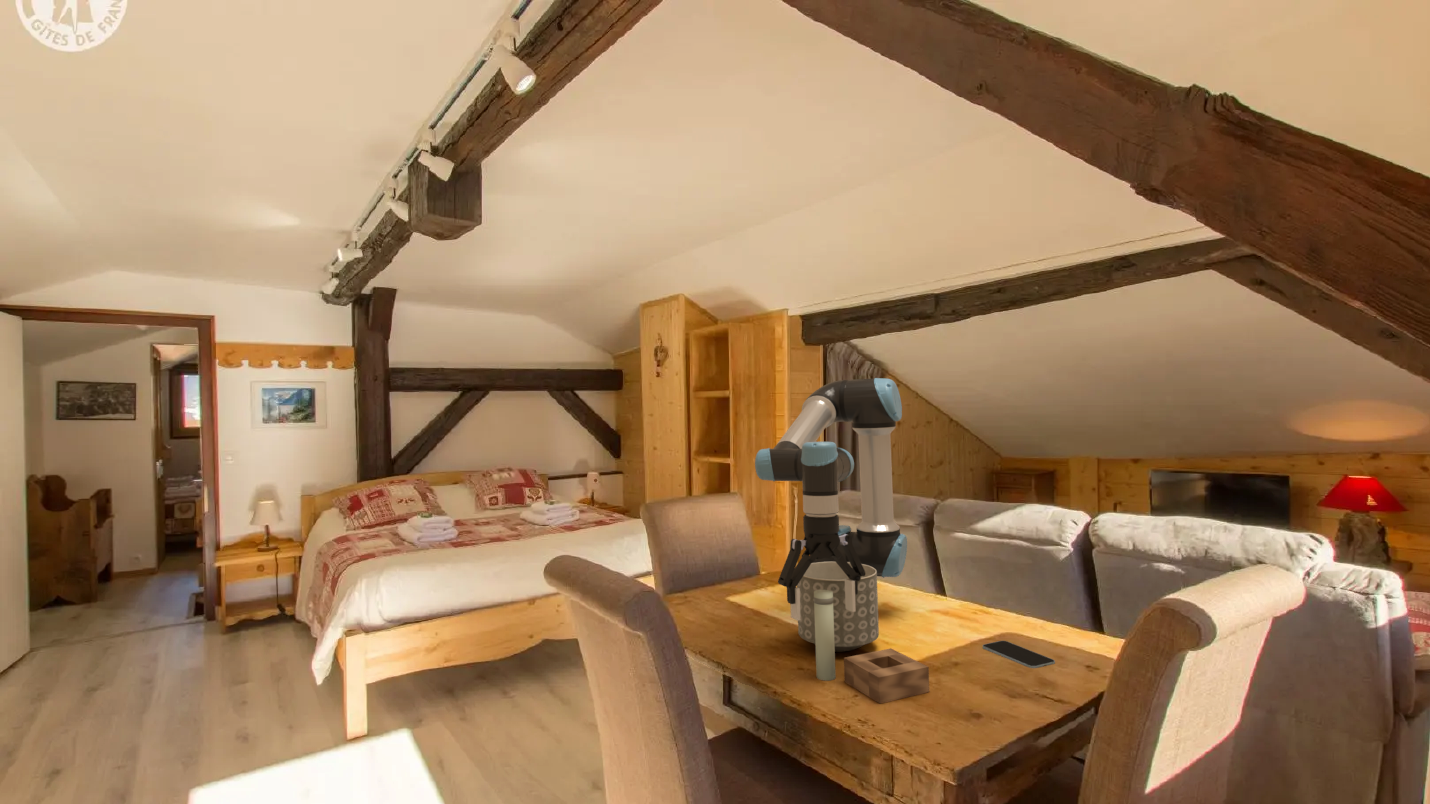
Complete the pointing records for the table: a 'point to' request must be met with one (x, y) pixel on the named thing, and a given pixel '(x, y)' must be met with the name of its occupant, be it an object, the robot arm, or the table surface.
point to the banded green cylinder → (824, 635)
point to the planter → (840, 605)
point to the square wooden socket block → (886, 675)
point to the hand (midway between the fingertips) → (823, 614)
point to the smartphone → (1018, 654)
